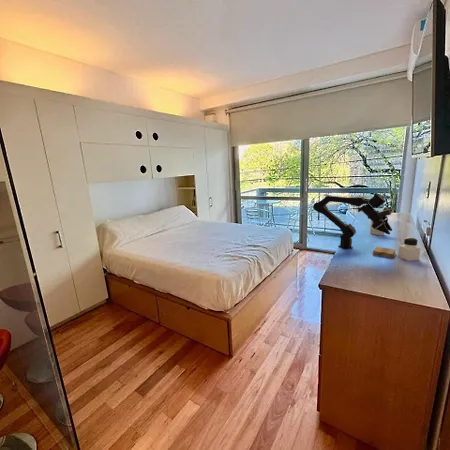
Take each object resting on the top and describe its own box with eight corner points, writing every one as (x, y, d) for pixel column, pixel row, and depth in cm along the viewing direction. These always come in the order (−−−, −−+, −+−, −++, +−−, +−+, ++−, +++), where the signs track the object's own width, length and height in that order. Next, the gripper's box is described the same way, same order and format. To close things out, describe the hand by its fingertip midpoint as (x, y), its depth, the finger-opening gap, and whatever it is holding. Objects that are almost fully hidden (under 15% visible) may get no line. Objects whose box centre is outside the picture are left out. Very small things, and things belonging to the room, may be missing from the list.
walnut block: (372, 255, 149) (373, 250, 148) (376, 250, 156) (376, 246, 156) (392, 259, 143) (392, 254, 142) (394, 254, 150) (395, 249, 149)
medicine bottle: (419, 260, 139) (422, 239, 136) (408, 261, 138) (411, 240, 135) (408, 255, 146) (410, 236, 143) (397, 256, 145) (400, 237, 142)
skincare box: (384, 234, 189) (386, 215, 186) (380, 236, 186) (382, 216, 183) (372, 232, 196) (374, 214, 193) (369, 233, 193) (371, 215, 190)
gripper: (380, 206, 138) (401, 227, 134) (385, 202, 152) (405, 220, 148) (363, 218, 145) (383, 239, 140) (369, 213, 159) (388, 232, 154)
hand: (390, 232), depth 146 cm, fingers open, 9 cm apart
